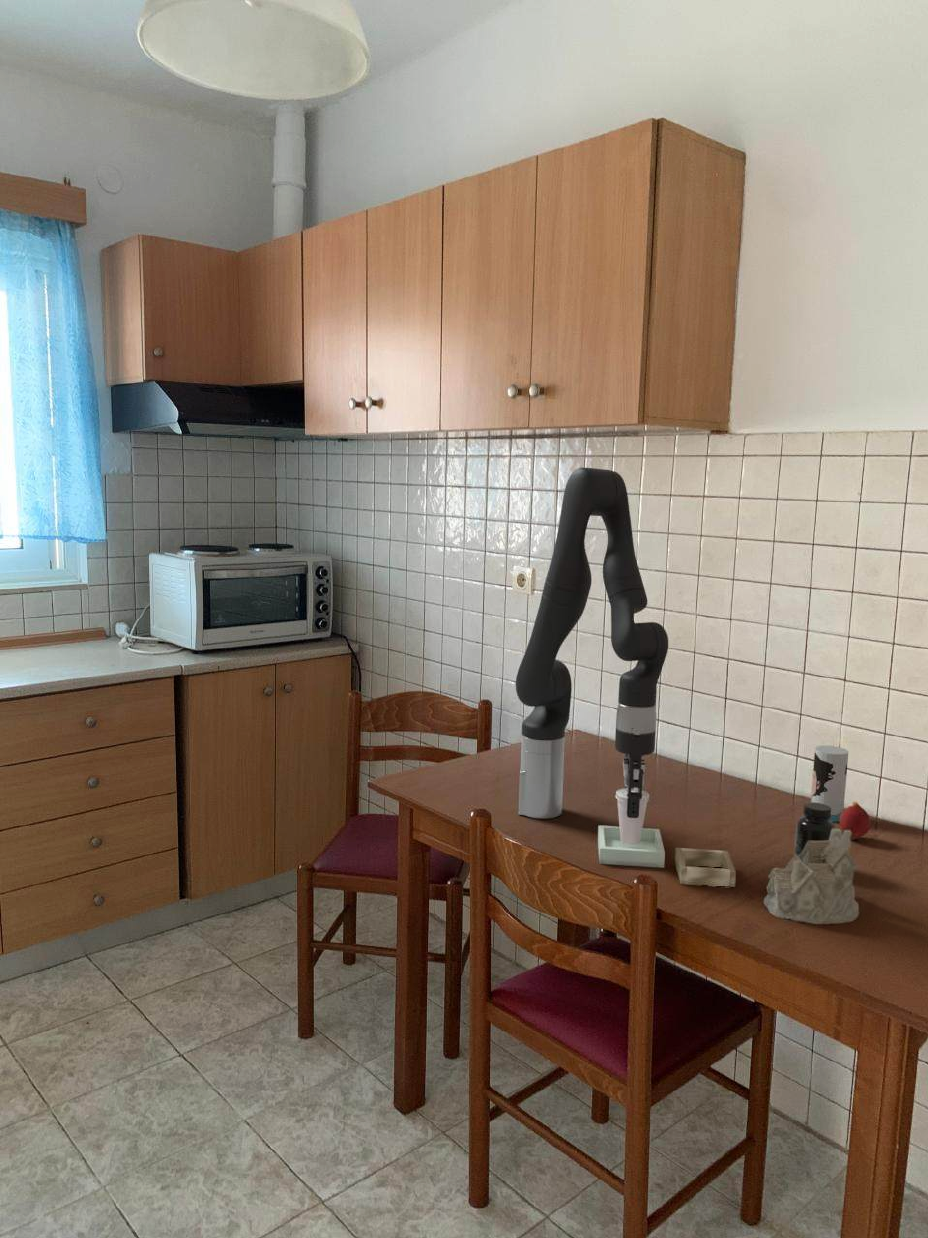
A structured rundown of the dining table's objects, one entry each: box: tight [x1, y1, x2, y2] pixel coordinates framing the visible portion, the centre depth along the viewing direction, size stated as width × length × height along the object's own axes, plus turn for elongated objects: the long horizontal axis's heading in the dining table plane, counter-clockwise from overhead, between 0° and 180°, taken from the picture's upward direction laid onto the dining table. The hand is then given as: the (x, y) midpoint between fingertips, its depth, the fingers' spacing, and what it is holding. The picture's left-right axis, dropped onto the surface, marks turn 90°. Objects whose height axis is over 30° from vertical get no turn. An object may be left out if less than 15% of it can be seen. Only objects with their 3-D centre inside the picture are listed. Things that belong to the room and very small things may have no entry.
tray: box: [597, 825, 666, 869], centre depth 179 cm, size 12×12×3 cm
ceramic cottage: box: [763, 828, 860, 925], centre depth 159 cm, size 16×16×15 cm
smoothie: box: [615, 788, 650, 845], centre depth 178 cm, size 6×6×14 cm
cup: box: [810, 744, 849, 823], centre depth 201 cm, size 7×7×15 cm
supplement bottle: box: [793, 802, 836, 855], centre depth 174 cm, size 7×7×12 cm
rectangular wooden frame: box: [674, 847, 737, 888], centre depth 170 cm, size 10×10×3 cm
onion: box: [839, 800, 871, 840], centre depth 189 cm, size 6×6×8 cm
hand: (631, 810), depth 178 cm, fingers closed on smoothie, 6 cm apart
